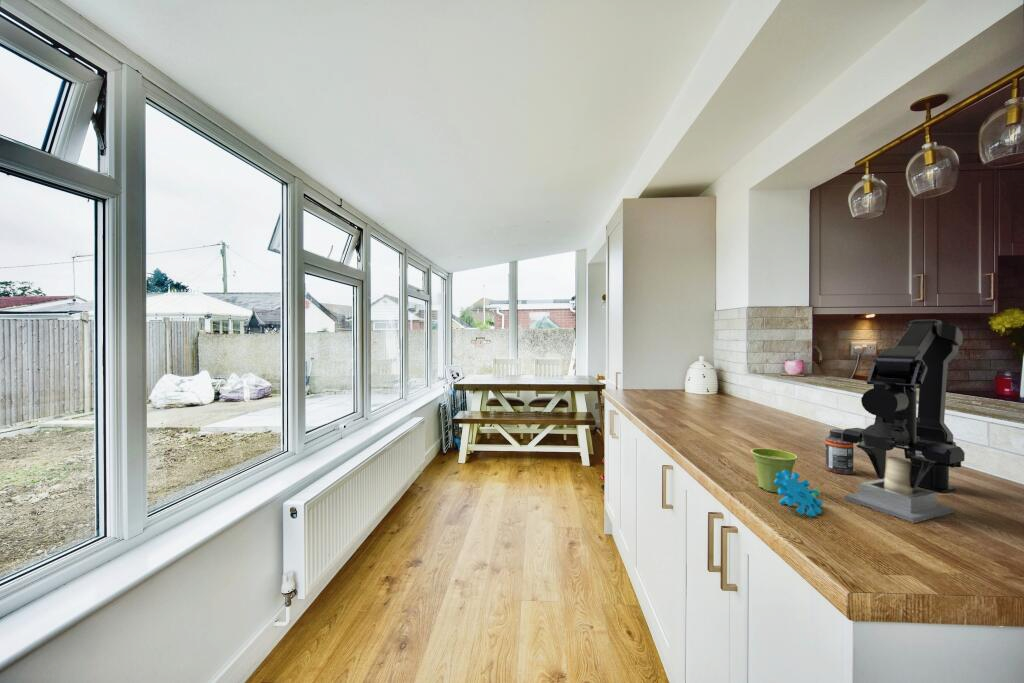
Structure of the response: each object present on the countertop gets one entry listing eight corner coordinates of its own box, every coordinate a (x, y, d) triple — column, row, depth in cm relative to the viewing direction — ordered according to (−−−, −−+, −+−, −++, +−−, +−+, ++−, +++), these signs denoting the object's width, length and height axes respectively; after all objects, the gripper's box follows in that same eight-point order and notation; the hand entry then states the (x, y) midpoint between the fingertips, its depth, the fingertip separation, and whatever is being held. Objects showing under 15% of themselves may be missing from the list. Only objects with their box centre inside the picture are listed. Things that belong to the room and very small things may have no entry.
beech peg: (890, 495, 88) (894, 456, 88) (915, 504, 84) (920, 463, 84) (878, 497, 87) (882, 457, 86) (903, 506, 83) (907, 465, 82)
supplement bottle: (828, 466, 112) (828, 426, 112) (855, 472, 108) (855, 430, 107) (822, 471, 108) (822, 430, 108) (850, 476, 104) (851, 434, 104)
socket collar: (884, 491, 91) (884, 478, 91) (936, 506, 83) (936, 492, 83) (859, 496, 88) (859, 483, 88) (910, 513, 80) (911, 498, 80)
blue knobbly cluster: (796, 513, 78) (769, 466, 85) (775, 524, 82) (751, 479, 89) (839, 515, 81) (809, 470, 88) (816, 526, 85) (790, 482, 92)
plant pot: (753, 479, 102) (754, 445, 102) (798, 487, 96) (798, 452, 96) (747, 489, 95) (747, 454, 95) (795, 500, 89) (796, 461, 89)
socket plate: (883, 491, 94) (883, 487, 94) (953, 512, 82) (953, 508, 82) (844, 499, 89) (844, 495, 89) (912, 523, 78) (912, 518, 78)
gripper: (826, 406, 92) (825, 473, 92) (933, 423, 74) (932, 505, 74) (857, 404, 95) (856, 468, 96) (966, 419, 78) (965, 497, 78)
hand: (896, 483), depth 86 cm, fingers open, 5 cm apart
